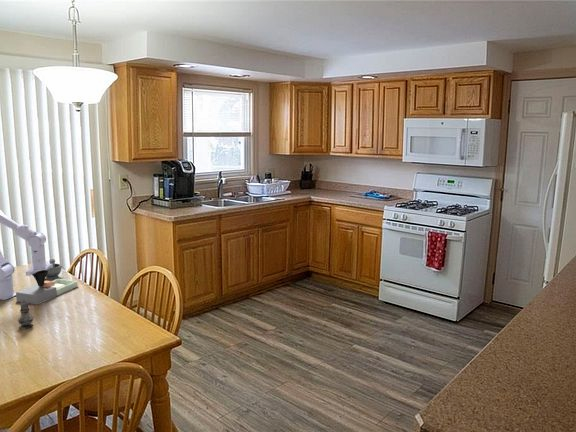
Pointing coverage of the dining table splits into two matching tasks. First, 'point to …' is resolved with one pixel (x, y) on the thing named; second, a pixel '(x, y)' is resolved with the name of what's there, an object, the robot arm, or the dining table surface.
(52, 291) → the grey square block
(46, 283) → the terracotta tile
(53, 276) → the mortar and pestle
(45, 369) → the dining table surface
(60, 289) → the green bin
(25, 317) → the dark grey chess piece
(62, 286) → the cream tile
